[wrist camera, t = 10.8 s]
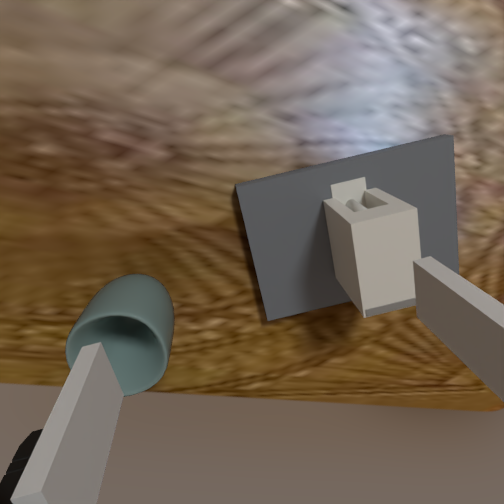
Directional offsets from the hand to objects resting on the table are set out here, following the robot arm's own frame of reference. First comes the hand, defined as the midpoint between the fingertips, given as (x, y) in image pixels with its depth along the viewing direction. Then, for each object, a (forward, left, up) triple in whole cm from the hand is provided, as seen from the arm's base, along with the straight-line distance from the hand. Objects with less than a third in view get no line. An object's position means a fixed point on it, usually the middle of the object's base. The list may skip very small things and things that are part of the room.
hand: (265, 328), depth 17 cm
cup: (-12, -7, -23) cm, 27 cm away
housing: (+10, -5, -21) cm, 24 cm away
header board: (+10, -5, -23) cm, 25 cm away
